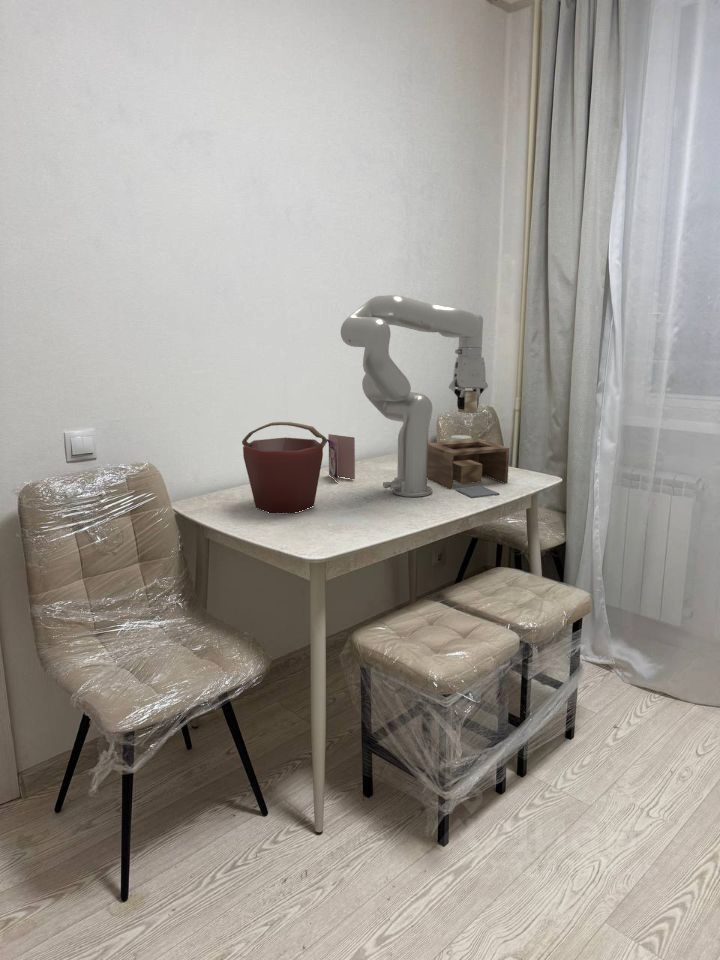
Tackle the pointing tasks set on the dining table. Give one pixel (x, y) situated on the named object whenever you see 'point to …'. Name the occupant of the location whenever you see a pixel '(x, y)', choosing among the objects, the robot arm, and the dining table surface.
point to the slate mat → (477, 492)
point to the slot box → (466, 461)
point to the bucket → (284, 470)
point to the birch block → (469, 402)
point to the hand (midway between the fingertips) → (467, 408)
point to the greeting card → (341, 456)
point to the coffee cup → (460, 437)
